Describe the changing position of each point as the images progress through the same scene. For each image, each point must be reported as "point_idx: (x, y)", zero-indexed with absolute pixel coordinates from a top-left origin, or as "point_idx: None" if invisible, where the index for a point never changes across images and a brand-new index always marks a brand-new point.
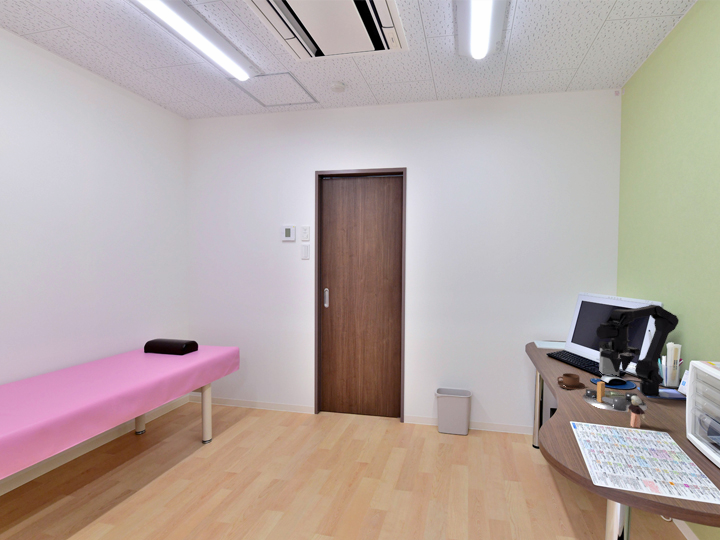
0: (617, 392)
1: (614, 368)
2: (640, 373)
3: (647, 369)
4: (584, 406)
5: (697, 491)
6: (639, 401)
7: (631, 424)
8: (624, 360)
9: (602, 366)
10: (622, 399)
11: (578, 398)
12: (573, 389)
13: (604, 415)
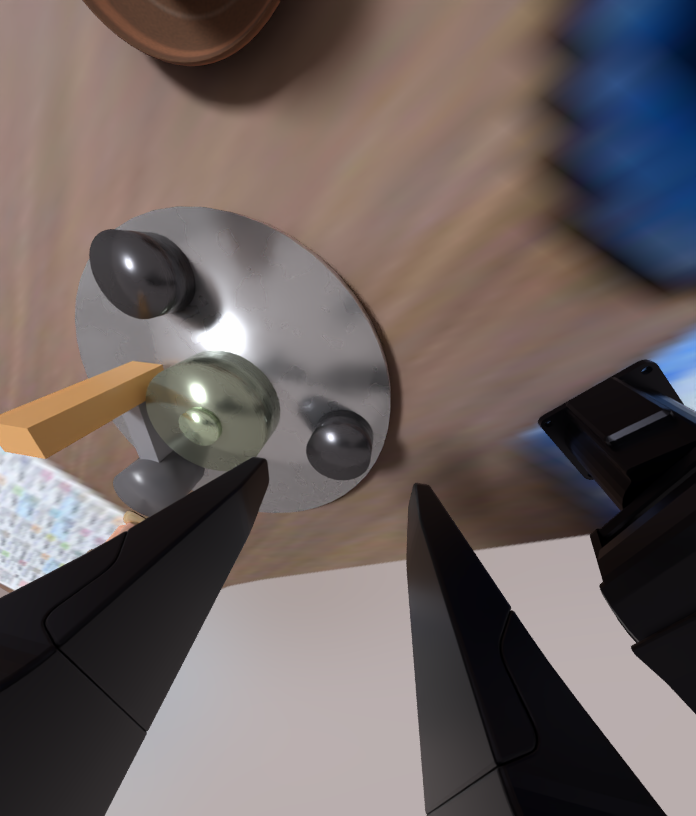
0: (248, 422)
1: (211, 486)
2: (669, 528)
3: (663, 672)
4: (68, 338)
5: None
6: None
7: (111, 535)
8: (453, 755)
9: None
10: (150, 505)
11: (92, 223)
12: (120, 19)
13: (105, 438)
